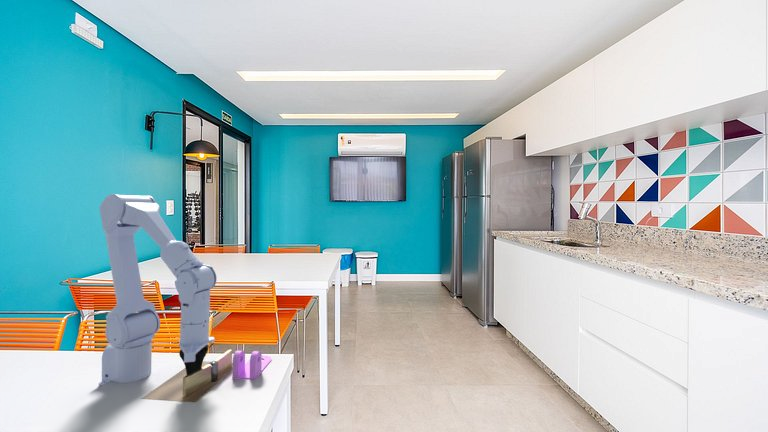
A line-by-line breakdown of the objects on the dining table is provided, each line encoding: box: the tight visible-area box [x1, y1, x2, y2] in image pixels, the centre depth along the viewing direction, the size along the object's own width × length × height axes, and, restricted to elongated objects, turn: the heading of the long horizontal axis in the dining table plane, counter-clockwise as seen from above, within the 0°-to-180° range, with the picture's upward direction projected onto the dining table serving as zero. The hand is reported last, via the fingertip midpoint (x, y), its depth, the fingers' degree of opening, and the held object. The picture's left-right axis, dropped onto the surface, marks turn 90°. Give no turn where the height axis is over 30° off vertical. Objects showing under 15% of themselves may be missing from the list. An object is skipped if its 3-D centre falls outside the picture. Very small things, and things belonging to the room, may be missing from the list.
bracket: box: [231, 350, 272, 380], centre depth 93 cm, size 13×6×7 cm, turn 177°
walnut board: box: [141, 360, 233, 403], centre depth 85 cm, size 12×19×1 cm, turn 175°
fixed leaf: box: [209, 349, 233, 382], centre depth 88 cm, size 2×9×4 cm, turn 175°
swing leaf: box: [183, 364, 211, 397], centre depth 81 cm, size 1×7×4 cm, turn 160°
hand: (193, 379), depth 82 cm, fingers closed, pressing on swing leaf
